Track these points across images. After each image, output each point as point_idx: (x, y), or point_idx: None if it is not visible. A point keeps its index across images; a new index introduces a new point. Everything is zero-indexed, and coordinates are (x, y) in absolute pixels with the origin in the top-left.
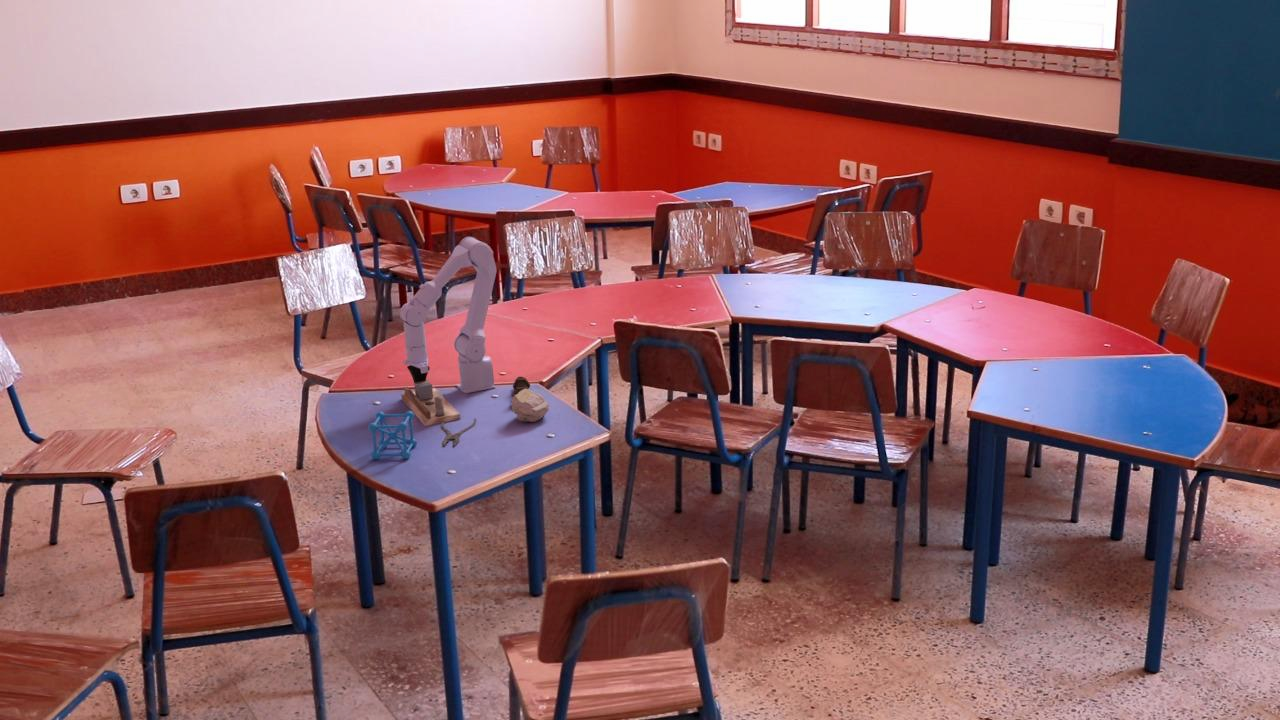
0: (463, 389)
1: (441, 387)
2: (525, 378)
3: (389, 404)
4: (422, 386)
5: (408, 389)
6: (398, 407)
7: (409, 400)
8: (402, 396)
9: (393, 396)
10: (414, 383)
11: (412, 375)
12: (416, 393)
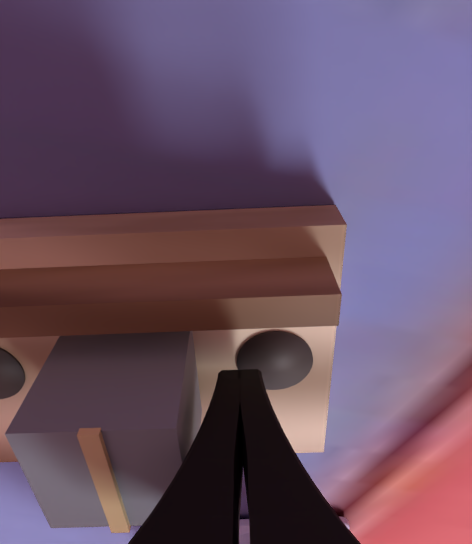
0: (242, 531)
1: (384, 459)
2: None
3: (255, 57)
4: (22, 465)
5: (251, 316)
6: (125, 127)
7: (124, 255)
8: (298, 222)
9: (456, 150)
10: (164, 425)
11: (229, 507)
12: (139, 350)
